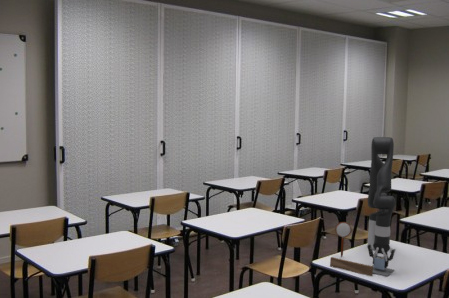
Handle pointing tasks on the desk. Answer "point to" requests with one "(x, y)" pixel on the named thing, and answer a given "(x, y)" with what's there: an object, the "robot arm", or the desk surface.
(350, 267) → the bar
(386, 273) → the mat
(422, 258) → the desk surface
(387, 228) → the robot arm
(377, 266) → the letter cube
